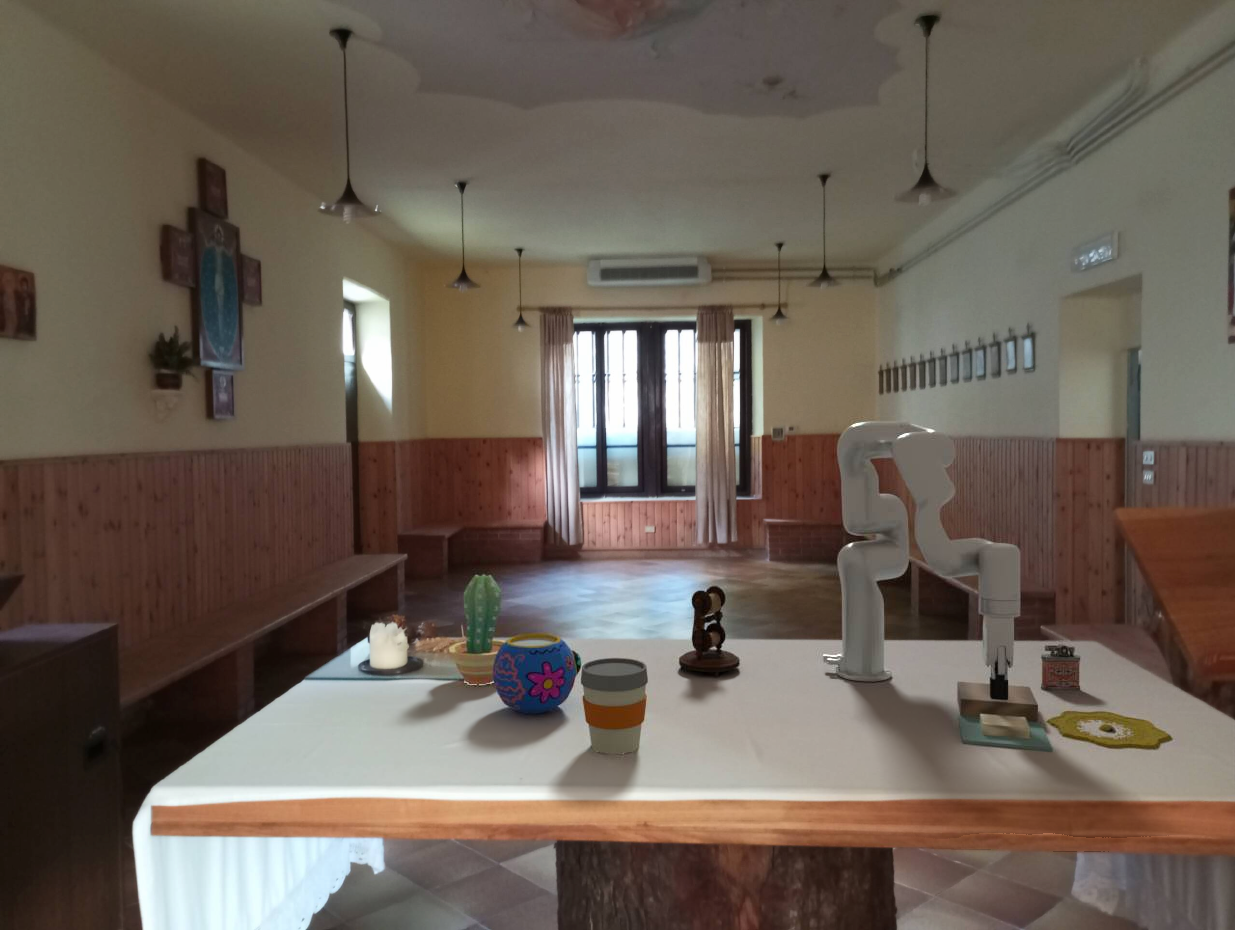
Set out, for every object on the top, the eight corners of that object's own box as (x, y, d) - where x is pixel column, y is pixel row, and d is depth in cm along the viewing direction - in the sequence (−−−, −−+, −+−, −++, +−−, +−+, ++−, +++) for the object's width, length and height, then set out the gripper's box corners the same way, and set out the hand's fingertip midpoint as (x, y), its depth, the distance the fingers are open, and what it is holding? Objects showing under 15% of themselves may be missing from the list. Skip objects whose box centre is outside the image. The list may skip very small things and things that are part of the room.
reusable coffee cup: (626, 763, 152) (625, 680, 151) (568, 750, 158) (567, 670, 157) (661, 741, 162) (660, 662, 161) (605, 729, 169) (604, 654, 168)
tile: (980, 713, 167) (979, 723, 167) (983, 724, 161) (983, 734, 161) (1025, 717, 164) (1025, 727, 164) (1029, 727, 158) (1029, 738, 159)
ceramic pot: (594, 707, 182) (592, 637, 182) (531, 730, 169) (529, 655, 169) (539, 691, 194) (537, 625, 193) (476, 711, 181) (474, 641, 180)
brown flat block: (960, 718, 172) (960, 698, 171) (957, 699, 183) (957, 681, 183) (1037, 724, 167) (1037, 704, 167) (1029, 705, 179) (1029, 686, 178)
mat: (962, 742, 159) (962, 739, 159) (958, 718, 172) (958, 715, 172) (1052, 751, 154) (1052, 748, 154) (1040, 725, 167) (1040, 722, 167)
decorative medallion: (1034, 713, 175) (1034, 706, 175) (1136, 715, 173) (1136, 708, 173) (1075, 749, 155) (1075, 741, 155) (1189, 752, 153) (1190, 744, 153)
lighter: (1076, 687, 191) (1076, 642, 190) (1082, 691, 187) (1083, 646, 187) (1038, 686, 191) (1038, 642, 191) (1044, 691, 188) (1044, 646, 188)
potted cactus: (527, 676, 206) (525, 573, 205) (485, 693, 193) (482, 583, 192) (479, 667, 214) (476, 568, 213) (435, 683, 201) (432, 578, 200)
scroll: (698, 658, 220) (697, 580, 219) (750, 666, 211) (749, 586, 210) (667, 672, 208) (666, 590, 207) (721, 681, 199) (720, 596, 198)
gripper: (975, 598, 177) (975, 685, 177) (981, 613, 163) (981, 708, 163) (1015, 599, 174) (1015, 688, 175) (1025, 615, 160) (1024, 712, 161)
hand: (998, 698), depth 169 cm, fingers closed
